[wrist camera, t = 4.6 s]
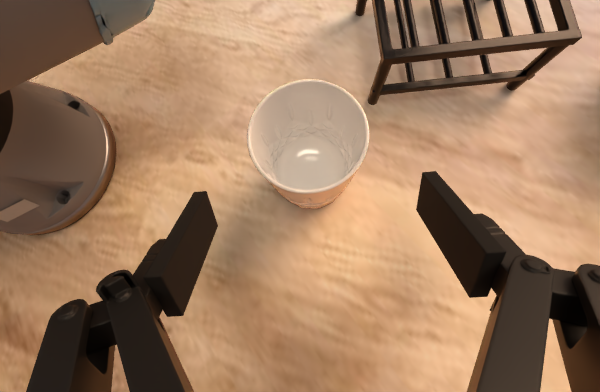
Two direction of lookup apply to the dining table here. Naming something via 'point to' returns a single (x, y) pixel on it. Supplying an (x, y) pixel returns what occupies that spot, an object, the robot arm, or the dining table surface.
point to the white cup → (308, 140)
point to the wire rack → (466, 45)
